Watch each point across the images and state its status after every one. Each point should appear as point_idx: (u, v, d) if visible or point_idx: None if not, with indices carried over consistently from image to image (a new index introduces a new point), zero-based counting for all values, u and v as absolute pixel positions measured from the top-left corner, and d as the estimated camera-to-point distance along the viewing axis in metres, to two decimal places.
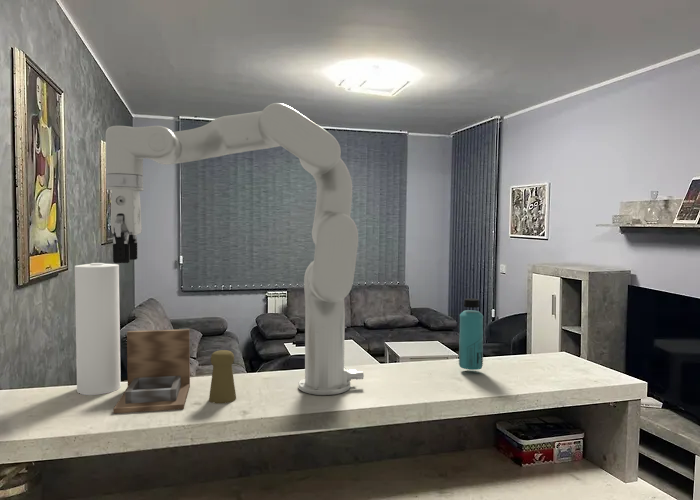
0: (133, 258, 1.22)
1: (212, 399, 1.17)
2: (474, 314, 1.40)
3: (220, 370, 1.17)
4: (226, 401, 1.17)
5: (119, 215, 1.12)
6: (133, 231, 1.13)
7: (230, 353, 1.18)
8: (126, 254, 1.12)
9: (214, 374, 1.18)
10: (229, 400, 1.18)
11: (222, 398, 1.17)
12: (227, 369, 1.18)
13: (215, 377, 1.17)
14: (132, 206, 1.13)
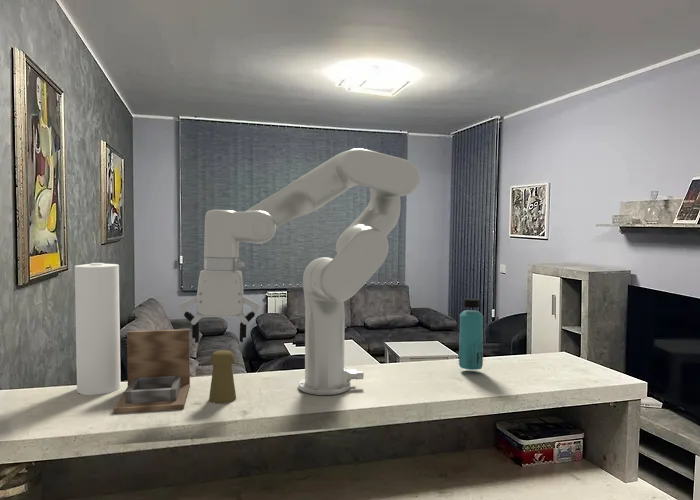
0: None
1: (212, 399, 1.17)
2: (474, 314, 1.40)
3: (220, 370, 1.17)
4: (226, 401, 1.17)
5: None
6: None
7: (230, 353, 1.18)
8: None
9: (214, 374, 1.18)
10: (229, 400, 1.18)
11: (222, 398, 1.17)
12: (227, 369, 1.18)
13: (215, 377, 1.17)
14: None
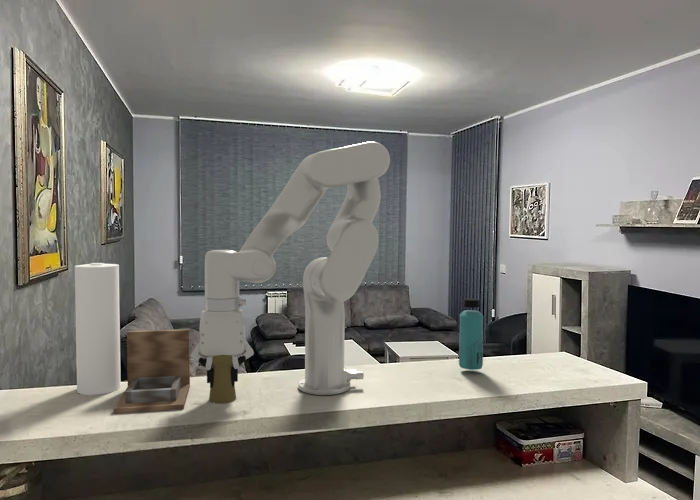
0: None
1: (212, 399, 1.17)
2: (474, 314, 1.40)
3: (220, 370, 1.17)
4: (226, 401, 1.17)
5: None
6: None
7: None
8: None
9: (214, 374, 1.18)
10: (229, 399, 1.18)
11: (222, 398, 1.17)
12: (227, 369, 1.18)
13: (215, 377, 1.17)
14: None
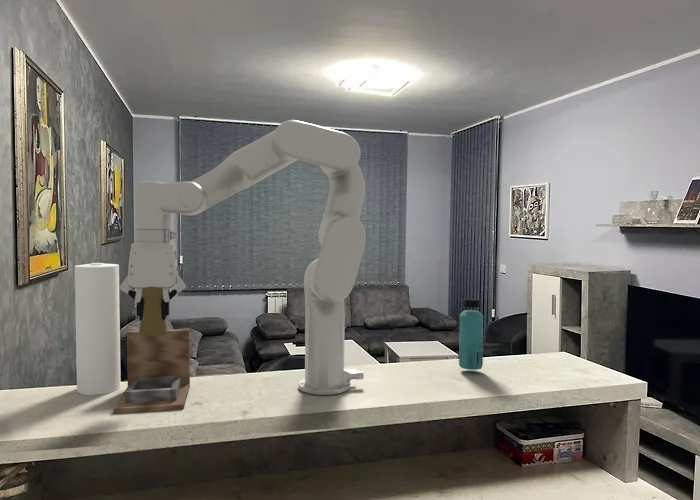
0: None
1: (141, 331, 1.16)
2: (474, 314, 1.40)
3: (150, 302, 1.16)
4: (155, 333, 1.16)
5: (175, 272, 1.19)
6: None
7: None
8: None
9: (144, 306, 1.16)
10: (159, 332, 1.16)
11: (151, 330, 1.16)
12: (157, 302, 1.17)
13: (144, 309, 1.16)
14: None
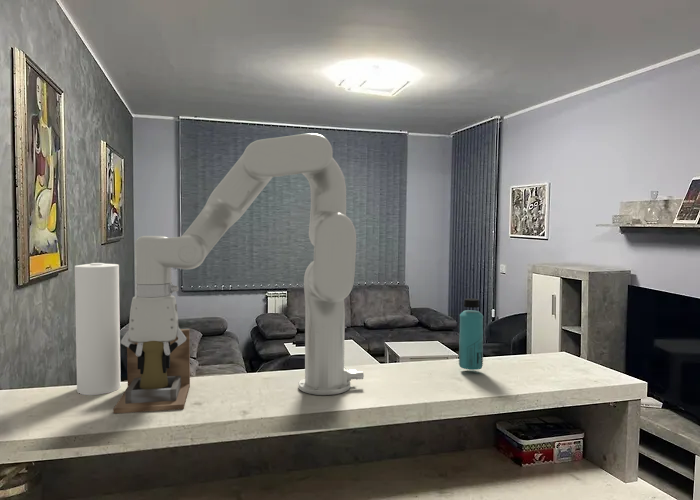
0: None
1: (142, 385, 1.17)
2: (474, 314, 1.40)
3: (150, 356, 1.17)
4: (156, 387, 1.17)
5: (176, 325, 1.19)
6: None
7: None
8: None
9: (144, 360, 1.17)
10: (160, 386, 1.17)
11: (152, 384, 1.16)
12: (158, 355, 1.17)
13: (145, 363, 1.17)
14: None
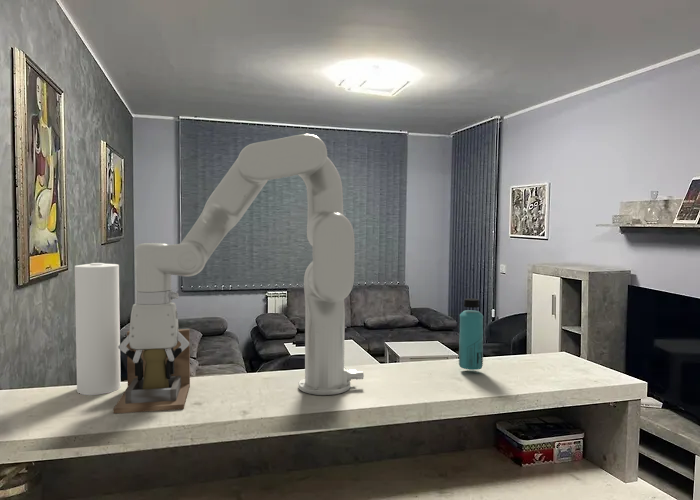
0: (142, 376, 1.19)
1: None
2: (474, 314, 1.40)
3: (152, 365, 1.17)
4: None
5: (177, 331, 1.19)
6: None
7: None
8: None
9: (146, 369, 1.17)
10: None
11: None
12: (159, 364, 1.17)
13: (147, 372, 1.17)
14: None
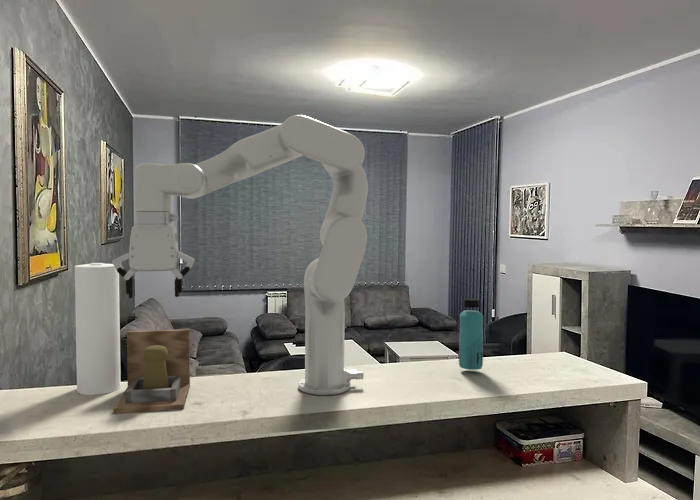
0: (134, 295, 1.18)
1: None
2: (474, 314, 1.40)
3: (152, 365, 1.17)
4: None
5: (178, 251, 1.19)
6: None
7: (163, 348, 1.18)
8: None
9: (146, 369, 1.17)
10: None
11: None
12: (159, 364, 1.17)
13: (147, 372, 1.17)
14: None
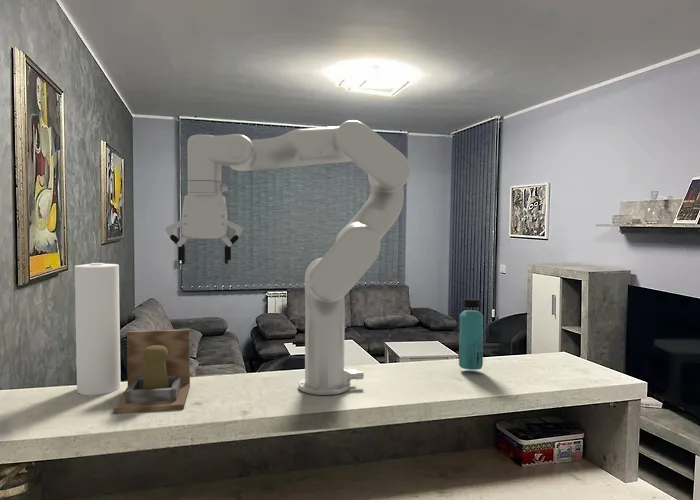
0: (185, 262, 1.23)
1: None
2: (474, 314, 1.40)
3: (152, 365, 1.17)
4: None
5: (227, 220, 1.23)
6: None
7: (163, 348, 1.18)
8: None
9: (146, 369, 1.17)
10: None
11: None
12: (159, 364, 1.17)
13: (147, 372, 1.17)
14: None
